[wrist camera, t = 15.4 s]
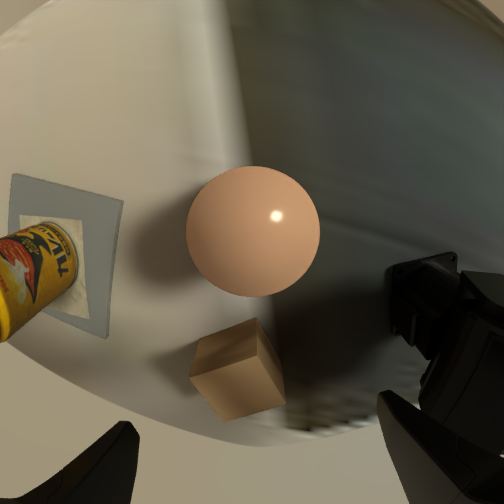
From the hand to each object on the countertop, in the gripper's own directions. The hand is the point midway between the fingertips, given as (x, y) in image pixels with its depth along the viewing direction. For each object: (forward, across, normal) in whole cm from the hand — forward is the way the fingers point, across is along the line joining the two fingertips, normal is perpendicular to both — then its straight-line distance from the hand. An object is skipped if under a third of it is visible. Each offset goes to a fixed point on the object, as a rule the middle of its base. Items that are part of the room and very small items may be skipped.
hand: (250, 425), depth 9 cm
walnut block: (+13, +2, +6) cm, 15 cm away
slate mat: (+13, +16, -5) cm, 21 cm away
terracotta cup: (+13, -1, -5) cm, 14 cm away
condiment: (+13, +16, -4) cm, 21 cm away
